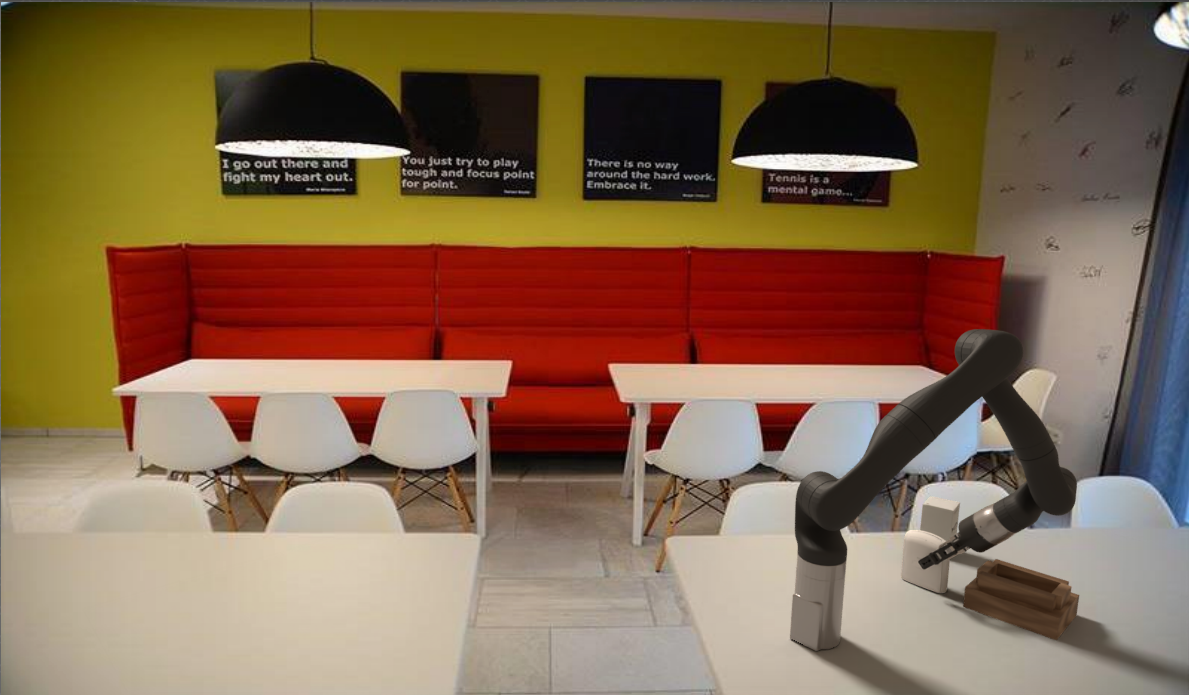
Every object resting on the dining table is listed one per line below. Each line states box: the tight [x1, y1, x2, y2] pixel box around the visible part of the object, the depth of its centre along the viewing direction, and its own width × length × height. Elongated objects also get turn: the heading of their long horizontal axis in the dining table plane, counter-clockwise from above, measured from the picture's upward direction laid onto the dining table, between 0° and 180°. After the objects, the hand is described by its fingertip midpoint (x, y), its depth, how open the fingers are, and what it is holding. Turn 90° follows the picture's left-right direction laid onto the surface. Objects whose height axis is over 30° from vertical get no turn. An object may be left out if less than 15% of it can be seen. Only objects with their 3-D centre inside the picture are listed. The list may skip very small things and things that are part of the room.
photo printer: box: [900, 529, 951, 594], centre depth 178 cm, size 10×4×12 cm, turn 39°
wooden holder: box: [962, 558, 1080, 641], centre depth 167 cm, size 14×18×8 cm
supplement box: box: [919, 495, 961, 541], centre depth 195 cm, size 7×7×13 cm
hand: (929, 559), depth 177 cm, fingers open, 8 cm apart
